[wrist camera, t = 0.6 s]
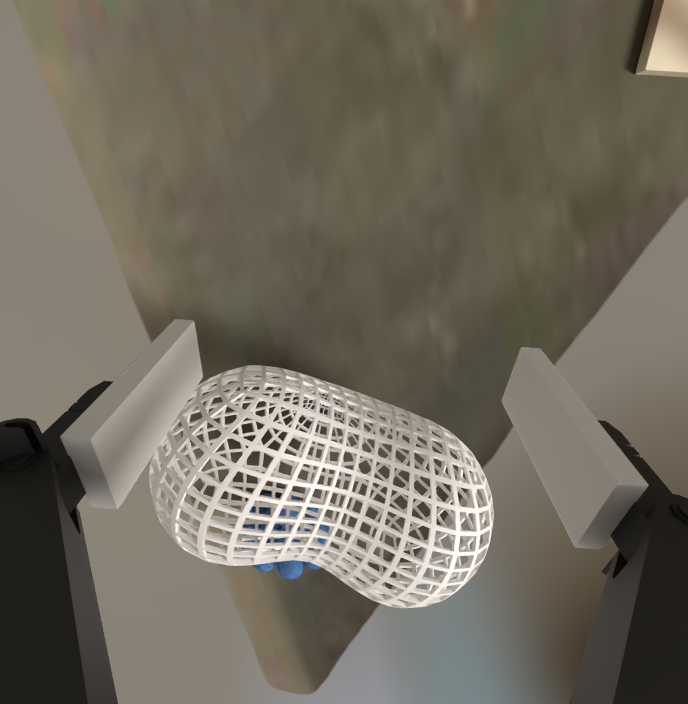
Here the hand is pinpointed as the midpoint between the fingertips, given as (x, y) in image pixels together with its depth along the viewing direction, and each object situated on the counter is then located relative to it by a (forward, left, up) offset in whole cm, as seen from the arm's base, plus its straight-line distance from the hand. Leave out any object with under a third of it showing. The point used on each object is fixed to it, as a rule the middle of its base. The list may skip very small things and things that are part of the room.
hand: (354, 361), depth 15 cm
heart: (+16, -1, -26) cm, 31 cm away
